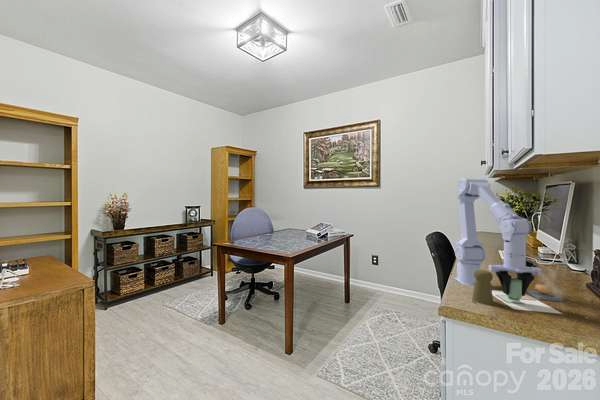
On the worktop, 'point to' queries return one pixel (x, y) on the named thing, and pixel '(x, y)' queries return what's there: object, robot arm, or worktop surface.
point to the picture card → (524, 303)
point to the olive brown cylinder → (482, 287)
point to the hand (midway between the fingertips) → (513, 294)
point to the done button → (543, 288)
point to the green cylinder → (515, 289)
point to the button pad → (544, 296)
